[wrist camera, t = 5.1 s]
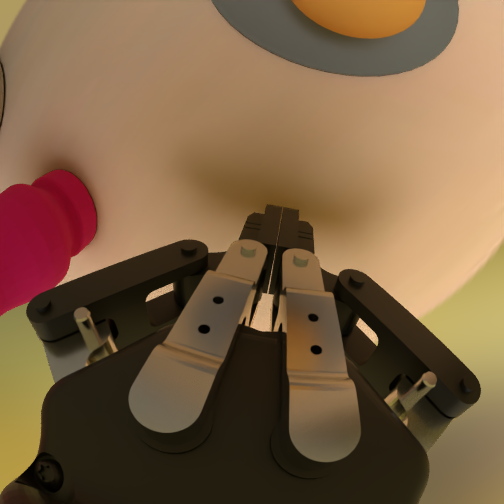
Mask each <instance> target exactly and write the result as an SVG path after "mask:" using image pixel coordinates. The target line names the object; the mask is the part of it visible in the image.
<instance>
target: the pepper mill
mask: <svg viewBox="0 0 504 504" xmlns="http://www.w3.org/2000/svg"><path fill="white" fill-rule="evenodd" d="M96 224H97V218H96V211H95V207H94V204H93V201H92V199H91V197H90V195H89V193H88V191H87V189H86V187H85V186H84V185H83V184H82V182H81V181H80V180H79V179H78V178H77V177H76V176H74V175H73V174H72V173H70V172H67V171H64V170H54V171H51V172H49V173H47V174H45V175H43V176H42V177H40V178H38V179H36V180H35V181H34V182H33V183H32V185H27V184H15V185H12V186H10V187H9V188H7V189H6V190H5V191H3V192H2V193H1V194H0V316H1V315H3V314H4V313H6V312H7V311H9V310H11V309H13V308H15V307H18V306H20V305H23V304H25V303H27V302H30V301H31V300H32V299H33V298H34V297H35V296H36V295H38V294H40V293H42V292H45V291H47V290H49V289H52V288H54V287H55V286H56V285H57V284H58V283H60V282H61V281H62V280H63V278H64V277H65V276H66V274H67V271H68V269H69V265H70V259H71V257H73V256H75V255H77V254H78V253H79V252H80V251H81V250H83V249H84V248H85V247H86V246H87V245H88V244H89V243H90V242H91V241H92V239H93V238H94V235H95V233H96Z"/></svg>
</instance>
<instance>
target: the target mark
mask: <svg viewBox="0 0 504 504" xmlns="http://www.w3.org/2000/svg"><path fill="white" fill-rule="evenodd" d="M212 2H213V4H214V5H215V7H216V8H217V9H218V11H219V12H220V14H221V15H222V16H223V17H224V18H225V19H226V20H227V21H228V22H229V23H230V24H231V25H232V26H233V27H234V28H235V29H237V30H238V31H239V32H240V33H241V34H242V35H244V36H245V37H247V38H248V39H250V40H251V41H252V42H254V43H255V44H257V45H259V46H260V47H262V48H264V49H266V50H268V51H269V52H271V53H273V54H275V55H278V56H280V57H282V58H285V59H287V60H289V61H292V62H295V63H298V64H300V65H303V66H306V67H309V68H313V69H317V70H321V71H325V72H330V73H336V74H342V75H353V76H383V75H391V74H398V73H402V72H406V71H410V70H413V69H415V68H418V67H420V66H423V65H425V64H426V63H428V62H429V61H431V60H433V59H434V58H436V57H437V56H438V55H439V54H440V53H441V52H442V51H443V50H444V49H445V48H446V47H447V45H448V44H449V43H450V41H451V39H452V37H453V35H454V33H455V30H456V27H457V23H458V13H459V7H458V0H426V2H425V6H424V9H423V11H422V13H421V15H420V17H419V18H418V19H417V20H416V21H415V23H414V24H412V25H411V26H410V27H409V28H407V29H406V30H404V31H402V32H400V33H397V34H395V35H392V36H388V37H383V38H375V39H368V38H356V37H350V36H346V35H342V34H339V33H336V32H334V31H331V30H329V29H326V28H324V27H322V26H321V25H319V24H317V23H316V22H314V21H313V20H311V19H310V18H308V17H307V16H306V15H305V14H304V13H303V12H302V11H300V10H299V9H298V8H297V6H296V5H295V4H294V3H293V2H292V0H212Z"/></svg>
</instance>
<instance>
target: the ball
mask: <svg viewBox="0 0 504 504" xmlns="http://www.w3.org/2000/svg"><path fill="white" fill-rule="evenodd" d="M292 2H293V3H294V4H295V5H296V6H297V8H298V9H299V10H300V11H302V12H303V13H304V14H305V15H306V16H307V17H308V18H310V19H311V20H313V21H314V22H316V23H317V24H319V25H321V26H322V27H324V28H326V29H329V30H331V31H334V32H336V33H339V34H342V35H346V36H350V37H356V38H368V39H375V38H383V37H388V36H392V35H395V34H397V33H400V32H402V31H404V30H406V29H407V28H409V27H410V26H411V25H412V24H414V23H415V21H416V20H417V19H418V18H419V17H420V15H421V13H422V11H423V9H424V6H425V2H426V0H292Z"/></svg>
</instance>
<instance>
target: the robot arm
mask: <svg viewBox="0 0 504 504" xmlns="http://www.w3.org/2000/svg"><path fill="white" fill-rule="evenodd" d="M3 98H4V81H3V72H2V68H1V65H0V122H1V117H2V109H3ZM281 212H282V207H279V206H273V205H268V204H267V207H266V210H265V214H261V213H255V212H254V213H253V214H251V215H249V216H248V218H247V220H246V223H245V225H244V228H243V230H242V233H241V235H240V238H239V240H238V241H235V242H233V243H232V244H231V245H230V247H229V249H228V250H227V251H226V252H218V253H208V247H207V246H206V245H205V244H204V243H202V242H200V241H197V240H182V241H178V242H176V243H173V244H170V245H167V246H164V247H161V248H158V249H155V250H153V251H150V252H147V253H144V254H141V255H139V256H136V257H133V258H130V259H128V260H125V261H122V262H119V263H117V264H114V265H111V266H109V267H106V268H103V269H101V270H98V271H95V272H93V273H90V274H88V275H85V276H82V277H80V278H77V279H75V280H72V281H70V282H67V283H64V284H62V285H59V286H57V287H54V288H52V289H49V290H47V291H45V292H42V293H40V294H38V295H36V296H35V297H34V298H33V299H32V300H31V301H30V302H29V304H28V306H27V310H26V313H27V317H28V318H29V321H30V322H31V324H32V326H33V327H34V329H35V331H36V334H37V336H38V338H39V340H40V341H41V343H42V344H43V346H44V348H45V352H46V356H47V359H48V363H49V366H50V370H51V372H52V376H53V379H54V382H55V384H54V385H53V386H52V387H51V388H50V390H49V391H48V393H47V394H46V397H45V399H44V402H43V405H42V410H41V439H40V445H39V450H38V454H37V457H36V459H35V460H34V462H33V463H32V464H31V465H30V467H29V468H28V469H27V470H26V471H25V472H24V473H22V474H21V475H20V476H19V477H18V478H16V479H15V480H14V481H12V482H11V483H10V484H9V485H7V486H6V487H5V488H4V490H3V491H2V493H1V495H0V504H418V503H419V501H420V498H421V496H422V494H423V492H424V490H425V487H426V485H427V481H428V478H429V460H428V456H427V454H426V453H427V452H428V451H429V449H430V448H431V447H432V446H433V444H434V443H435V442H436V441H437V439H438V438H439V437H440V436H441V434H442V433H443V432H444V430H445V429H446V428H447V426H448V425H449V424H450V422H452V421H453V420H454V419H456V418H457V417H458V416H460V415H461V414H462V413H463V412H465V411H466V410H467V409H468V408H470V407H471V406H472V405H473V404H474V403H476V402H477V401H478V399H479V397H480V393H481V388H480V384H479V381H478V379H477V378H476V376H475V375H474V374H473V373H472V372H471V371H470V370H469V369H468V368H467V367H466V366H465V365H464V364H463V363H462V362H461V361H460V360H459V359H458V358H457V357H456V356H455V355H454V354H453V353H452V352H451V351H450V350H449V349H448V348H447V347H446V346H445V345H444V344H443V343H442V342H441V341H440V340H439V339H438V338H437V337H436V336H435V335H434V334H433V333H431V332H430V331H429V330H428V329H427V328H426V327H425V326H424V325H423V324H422V323H421V322H420V321H419V320H418V319H416V318H415V317H414V316H413V315H412V314H411V313H410V312H409V311H408V310H406V309H405V308H404V307H403V306H402V305H401V304H400V303H399V302H398V301H396V300H395V299H394V298H393V297H392V296H391V295H390V294H388V293H387V292H386V291H385V290H384V289H383V288H381V287H380V286H379V285H378V284H377V283H376V282H374V281H373V280H372V279H371V278H370V277H369V276H367V275H366V274H364V273H363V272H360V271H358V270H353V269H346V270H343V271H341V272H340V273H339V276H336V275H334V274H331V273H329V272H327V271H325V270H323V269H322V268H321V267H320V263H319V260H318V258H317V257H316V256H315V255H314V240H313V228H312V226H311V225H310V224H309V223H308V222H305V221H300V220H299V210H296V209H290V208H285V207H284V208H283V213H282V219H281ZM280 219H281V224H280ZM279 225H280V230H279ZM278 231H279V235H278ZM277 237H278V241H277ZM276 244H277V246H276ZM275 249H276V252H275ZM274 254H275V258H274ZM273 260H274V264H273ZM272 265H273V270H272ZM271 270H272V276H271V282H270V288H269V294H273V295H274V296H273V301H272V306H271V314H270V332H262V331H258V330H256V329H253V328H251V326H252V323H253V320H254V317H255V314H256V311H257V308H258V303H259V301H260V299H261V296H262V293H267V291H268V285H269V280H270V275H271ZM171 283H173V289H174V290H173V291H170V292H168V293H166V294H164V295H161V296H159V297H157V298H154V299H152V300H150V301H147V302H146V298H147V296H148V295H149V294H150V293H151V292H152V291H154V290H157V289H159V288H161V287H164V286H166V285H168V284H171ZM359 318H361V319H362V320H363V321H364V322H365V323H366V324H367V325H368V326H369V327H370V328H371V329H372V330H373V331H374V332H375V333H376V335H377V337H378V346H376V345H375V344H374V343H373V342H372V341H371V340H370V339H369V338H368V337H367V336H366V335H365V334H364V333H363V332H362V331H361V330H360V329H359V328H358V327H357V326H356V324H357V322H358V320H359Z"/></svg>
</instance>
